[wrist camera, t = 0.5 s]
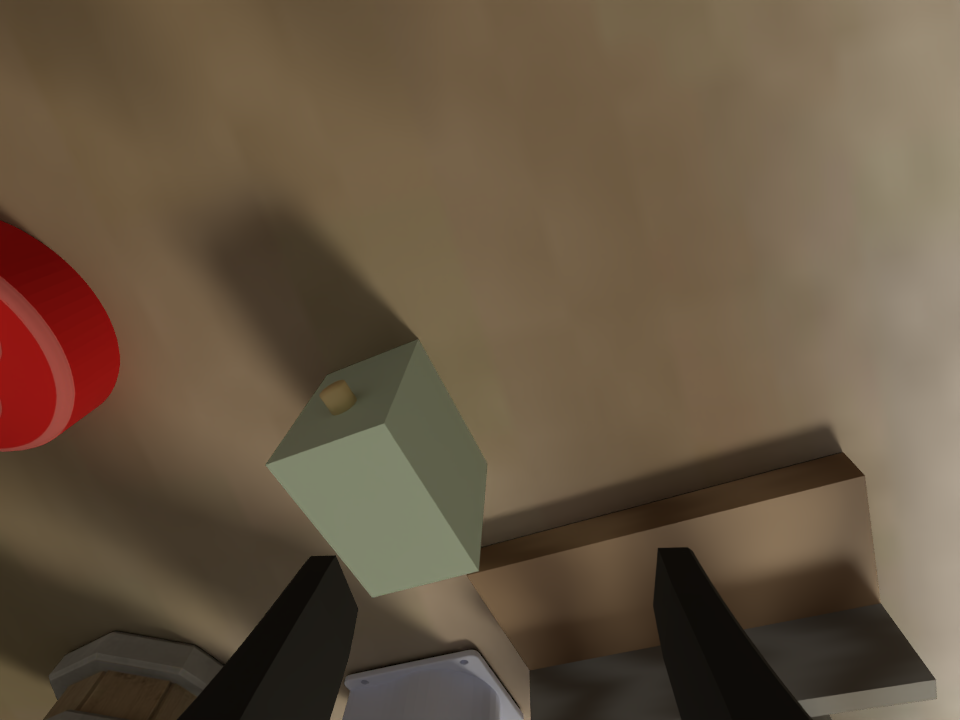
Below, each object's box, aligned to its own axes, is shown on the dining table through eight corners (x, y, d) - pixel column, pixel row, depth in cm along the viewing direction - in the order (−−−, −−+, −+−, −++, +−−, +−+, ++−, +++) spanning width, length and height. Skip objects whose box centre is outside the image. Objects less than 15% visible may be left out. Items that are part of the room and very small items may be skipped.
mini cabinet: (404, 488, 24) (372, 597, 19) (317, 358, 21) (250, 446, 16) (487, 462, 23) (478, 571, 18) (409, 321, 20) (370, 402, 15)
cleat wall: (538, 658, 30) (541, 755, 25) (469, 551, 26) (459, 644, 21) (863, 594, 25) (936, 698, 21) (843, 452, 21) (928, 544, 17)
